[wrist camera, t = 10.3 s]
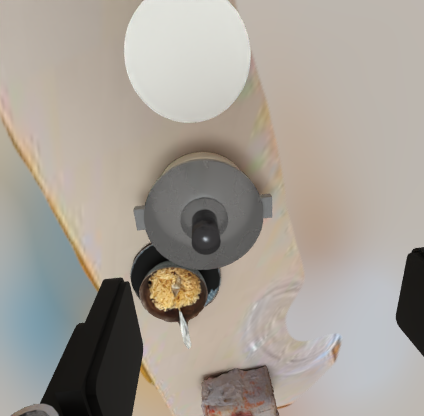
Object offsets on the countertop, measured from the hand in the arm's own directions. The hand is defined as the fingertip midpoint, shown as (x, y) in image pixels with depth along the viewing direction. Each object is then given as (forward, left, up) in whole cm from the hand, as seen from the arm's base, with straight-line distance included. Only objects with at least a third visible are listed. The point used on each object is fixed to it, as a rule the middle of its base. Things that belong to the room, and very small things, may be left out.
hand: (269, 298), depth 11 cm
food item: (+50, +1, -37) cm, 62 cm away
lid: (+10, -2, -29) cm, 31 cm away
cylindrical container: (-8, -2, -36) cm, 37 cm away
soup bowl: (+24, -8, -37) cm, 45 cm away
